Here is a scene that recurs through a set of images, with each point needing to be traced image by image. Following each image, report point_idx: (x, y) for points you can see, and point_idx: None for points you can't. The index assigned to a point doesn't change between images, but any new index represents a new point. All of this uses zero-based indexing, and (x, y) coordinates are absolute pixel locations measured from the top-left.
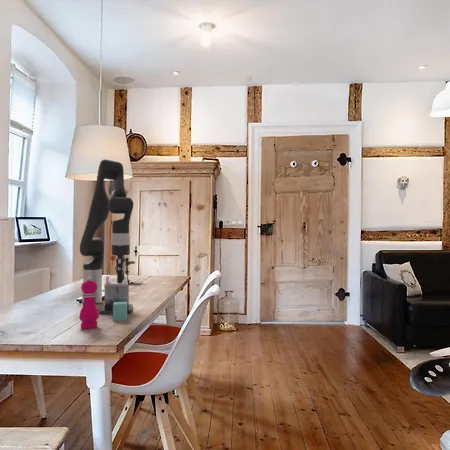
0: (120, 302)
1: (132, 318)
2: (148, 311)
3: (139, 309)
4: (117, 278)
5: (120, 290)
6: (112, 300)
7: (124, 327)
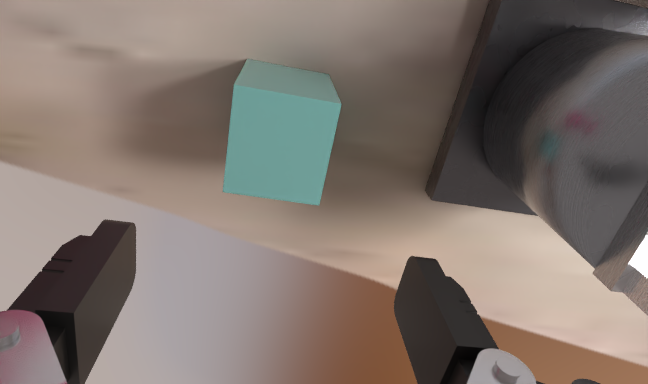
0: (304, 153)
1: None
2: None
3: (510, 243)
4: (73, 262)
5: (563, 201)
6: (538, 100)
7: (40, 113)
